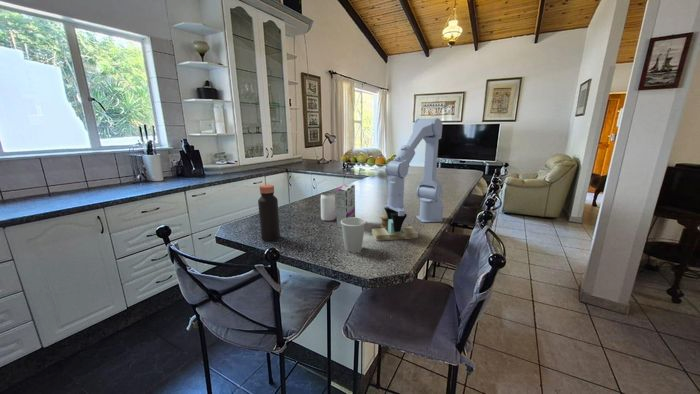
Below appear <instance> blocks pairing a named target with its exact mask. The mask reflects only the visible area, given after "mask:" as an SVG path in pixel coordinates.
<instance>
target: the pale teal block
mask: <svg viewBox="0 0 700 394" xmlns="http://www.w3.org/2000/svg"><path fill="white" fill-rule="evenodd" d="M402 227H403V226H402ZM402 227H401V228H402ZM387 232H388V233H389V234H393V233H401V231H400V232H395V231H394V226H393V219H388V230H387Z"/></svg>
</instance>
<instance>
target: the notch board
mask: <svg viewBox="0 0 700 394" xmlns="http://www.w3.org/2000/svg"><path fill="white" fill-rule="evenodd" d="M371 234H372V236H373V238H374V239H375V240H376V241H390V240H391V241H393V240H405V239H406V240H408V239H409V240H410V239H418V238H419V232H418V231H417V230H416V229H415V228H413V226H402V228H401V233H393V234H389V233H388V230H386V229H385V228H378V227H377V228H371Z"/></svg>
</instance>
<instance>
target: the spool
mask: <svg viewBox="0 0 700 394" xmlns="http://www.w3.org/2000/svg"><path fill="white" fill-rule="evenodd" d="M379 216H380V217H379V218H380V219H381V224H380V225H379V227H380V228H385V229H386V231H388V217H387V213H381V214H380V215H379Z"/></svg>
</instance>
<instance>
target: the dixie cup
mask: <svg viewBox="0 0 700 394" xmlns="http://www.w3.org/2000/svg"><path fill="white" fill-rule="evenodd" d="M366 223H367V221H366V220H365V219H363V218H362V217H356V216H355V217H350V218H345V219H343V220H341V224H342V228H341V230H342V231H341V232H342V236H343V244H344V250H345V252H347V253H348V252H349V253H359V252H360V251H361V252H362V248H363V247H362V246H363V241H364V240H363V239H364V234H365V226H366Z"/></svg>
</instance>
